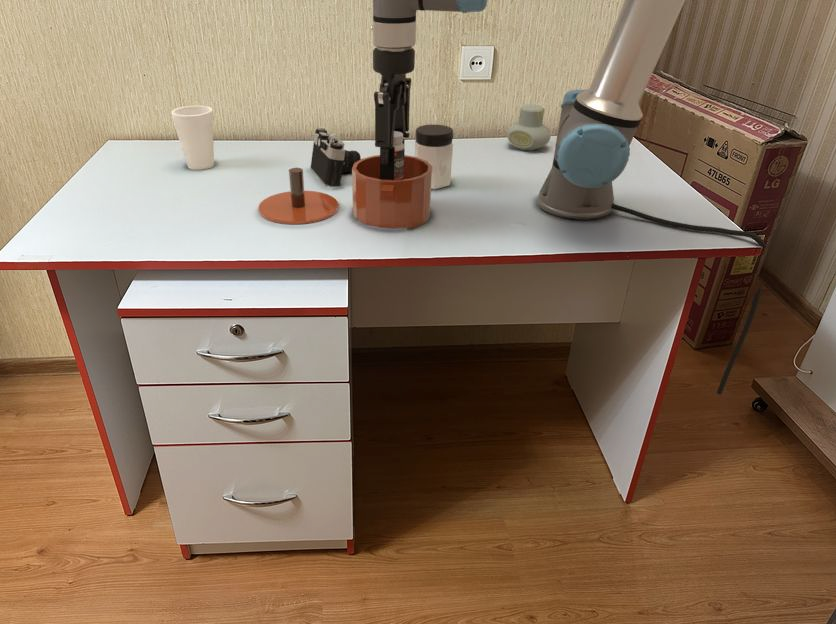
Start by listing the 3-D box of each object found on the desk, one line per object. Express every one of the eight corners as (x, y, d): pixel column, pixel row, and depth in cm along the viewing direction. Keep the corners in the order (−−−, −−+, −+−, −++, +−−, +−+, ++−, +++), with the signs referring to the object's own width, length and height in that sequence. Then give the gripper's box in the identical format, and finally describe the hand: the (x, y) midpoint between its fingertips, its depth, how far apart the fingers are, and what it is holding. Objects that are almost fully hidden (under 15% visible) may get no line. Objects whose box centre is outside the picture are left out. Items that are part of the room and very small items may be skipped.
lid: (344, 197, 139) (343, 157, 134) (331, 229, 125) (329, 186, 120) (270, 194, 140) (266, 155, 135) (249, 225, 127) (244, 183, 122)
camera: (366, 189, 146) (374, 146, 141) (321, 187, 142) (328, 142, 136) (346, 169, 157) (352, 128, 152) (304, 166, 153) (309, 123, 148)
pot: (431, 197, 138) (434, 151, 133) (426, 238, 121) (429, 188, 116) (361, 194, 140) (360, 149, 134) (346, 234, 123) (344, 184, 117)
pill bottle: (386, 182, 124) (386, 139, 119) (376, 174, 127) (376, 132, 122) (407, 178, 125) (409, 135, 120) (397, 171, 129) (398, 129, 124)
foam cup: (226, 166, 155) (218, 112, 148) (190, 174, 151) (180, 118, 143) (211, 156, 162) (202, 103, 154) (176, 163, 157) (165, 109, 150)
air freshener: (553, 147, 166) (560, 107, 160) (538, 155, 161) (544, 114, 155) (517, 139, 172) (522, 100, 166) (500, 146, 167) (505, 107, 161)
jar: (427, 192, 141) (429, 137, 134) (405, 181, 146) (407, 128, 139) (458, 184, 145) (462, 130, 138) (436, 173, 150) (439, 121, 143)
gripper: (391, 37, 120) (390, 159, 134) (354, 55, 107) (357, 188, 120) (429, 40, 118) (424, 163, 132) (396, 58, 105) (394, 193, 118)
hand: (392, 175), depth 126 cm, fingers closed on pill bottle, 5 cm apart
